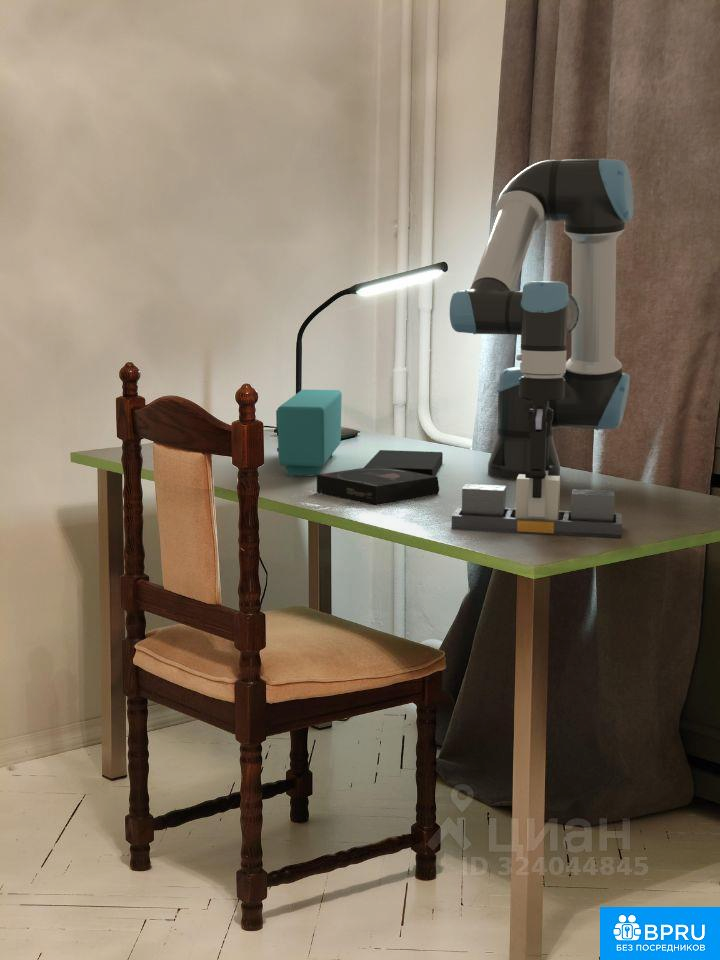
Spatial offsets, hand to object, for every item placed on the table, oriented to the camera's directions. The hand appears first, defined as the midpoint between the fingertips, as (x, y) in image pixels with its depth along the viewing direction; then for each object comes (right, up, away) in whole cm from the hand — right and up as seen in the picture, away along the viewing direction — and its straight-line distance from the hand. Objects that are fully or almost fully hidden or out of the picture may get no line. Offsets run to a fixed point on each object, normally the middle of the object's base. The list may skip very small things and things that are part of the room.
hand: (537, 511), depth 207 cm
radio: (-41, +8, +61) cm, 74 cm away
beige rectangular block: (0, -2, 0) cm, 2 cm away
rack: (0, -3, 0) cm, 3 cm away
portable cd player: (-27, +2, +30) cm, 40 cm away
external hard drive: (-21, +7, +55) cm, 59 cm away
